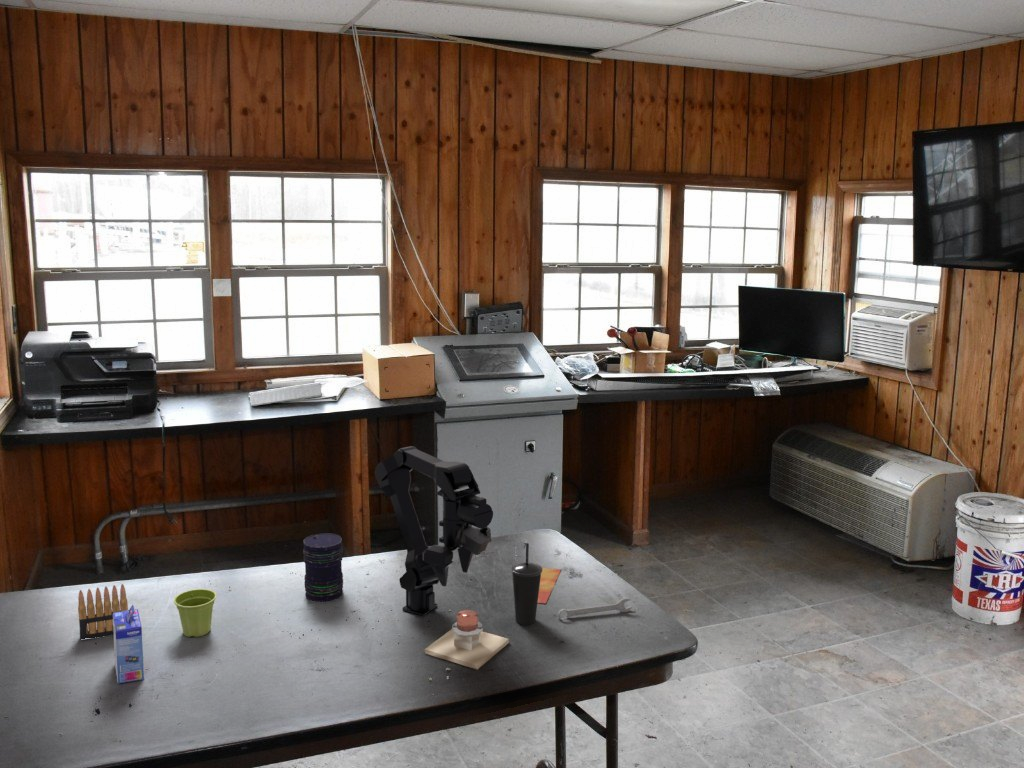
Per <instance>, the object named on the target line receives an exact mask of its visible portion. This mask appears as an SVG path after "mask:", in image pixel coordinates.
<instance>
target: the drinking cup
mask: <svg viewBox="0 0 1024 768" xmlns="http://www.w3.org/2000/svg"><path fill="white" fill-rule="evenodd" d="M529 548H530V543H529V542H528V543H526V544H525V561H523V562H517V563H515V564H513V565H512V566H511V567H510V570H511V574H512V587H513V588H512V590H513V602H514V615H515V622H516V623H517V624H519V625H522V626H529V625H533V624H534V623H535V622H536V618H537V609H538V603H537V602H538V594H539V587H540V586H541V585H540V578H541V573H542V571H543V569H542V568H543V567H542V566H541V565H540V564H538V563H535V562H531V561H529V553H530V552H529V551H530V550H529Z"/></svg>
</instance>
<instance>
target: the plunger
mask: <svg viewBox="0 0 1024 768" xmlns="http://www.w3.org/2000/svg"><path fill="white" fill-rule="evenodd" d="M451 629H452V631H453V632H454V633H455V634H457V635H459V636H465V637H469V636H475V635H478V634H480V633H481V632H482V631H483V629H484V628H483V624H482V623H481V622H480V621H479V613H478V612H477V611H475V610H472V609H464V610H460V611H458V612H457V613H456V621H455V622H454V623H453V624H452V626H451Z"/></svg>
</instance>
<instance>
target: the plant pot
mask: <svg viewBox="0 0 1024 768" xmlns="http://www.w3.org/2000/svg"><path fill="white" fill-rule="evenodd" d="M216 599H217V593H216V592H215V591H213V590H211V589H207V588H205V589H204V588H197V589H195V588H194V589H190V590H186V591H183V592H181V593H179V594H178V595H176V596H175V597H174V599H173V603H174V605H175V606H176V609H177V610H178V614H179V619H180V624H181V627H182V633H183V635H184V636H186V637H189V638H190V637H195V638H199V637H203V636H205V635H207V634H208V633H209V632H210V630H211V629H212V620H213V619H212V617H213V610H214V609H213V608H214V604H215V601H216Z"/></svg>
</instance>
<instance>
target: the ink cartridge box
mask: <svg viewBox="0 0 1024 768" xmlns="http://www.w3.org/2000/svg"><path fill="white" fill-rule="evenodd" d="M113 630H114V635H113V652H114V655H113V656H114V667H115V673H116V681H117V684H122V683H123V684H124V683H128V682H137V681H143V680H144V679H145V670H144V669H145V668H144V652H143V651H144V649H143V629H142V622H141V616H140V612H139V609H137V608H136V609H135V605H134V604H132V605H131V606H130V608H128V610H127V611H121V612H116V613H113Z"/></svg>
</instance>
